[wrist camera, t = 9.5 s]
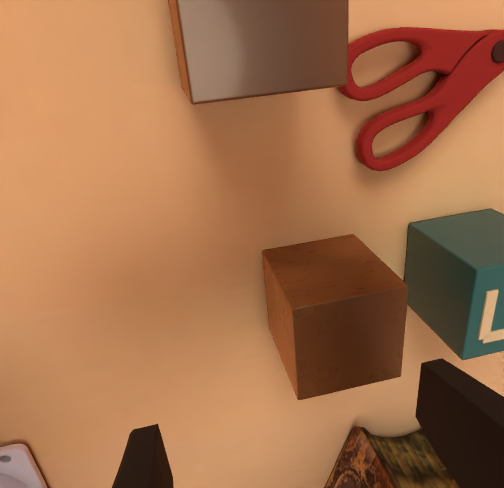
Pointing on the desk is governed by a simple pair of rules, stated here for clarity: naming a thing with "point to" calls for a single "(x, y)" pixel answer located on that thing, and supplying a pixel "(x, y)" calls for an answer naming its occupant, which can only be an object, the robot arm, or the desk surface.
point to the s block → (459, 279)
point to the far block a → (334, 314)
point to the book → (389, 463)
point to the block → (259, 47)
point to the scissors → (440, 97)
